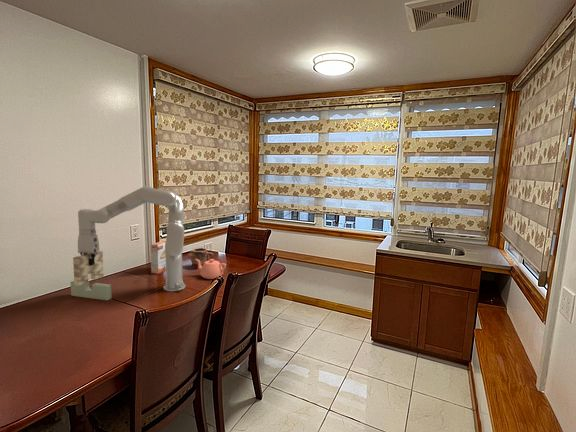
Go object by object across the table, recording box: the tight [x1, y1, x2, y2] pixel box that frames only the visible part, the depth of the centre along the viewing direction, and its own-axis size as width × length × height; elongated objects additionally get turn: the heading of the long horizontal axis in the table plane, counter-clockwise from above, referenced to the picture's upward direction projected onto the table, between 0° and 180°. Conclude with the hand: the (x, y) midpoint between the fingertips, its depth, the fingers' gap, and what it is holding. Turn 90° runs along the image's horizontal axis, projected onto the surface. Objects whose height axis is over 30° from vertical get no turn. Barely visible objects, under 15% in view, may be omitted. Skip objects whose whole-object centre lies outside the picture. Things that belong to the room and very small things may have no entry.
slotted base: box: [70, 280, 113, 301], centre depth 169 cm, size 24×3×8 cm, turn 78°
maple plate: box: [72, 250, 105, 286], centre depth 167 cm, size 16×3×15 cm, turn 168°
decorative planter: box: [187, 247, 215, 270], centre depth 228 cm, size 20×12×14 cm, turn 92°
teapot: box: [196, 258, 227, 280], centre depth 208 cm, size 22×15×12 cm
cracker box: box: [150, 240, 166, 275], centre depth 216 cm, size 14×6×21 cm, turn 168°
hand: (88, 264), depth 167 cm, fingers closed on maple plate, 3 cm apart
